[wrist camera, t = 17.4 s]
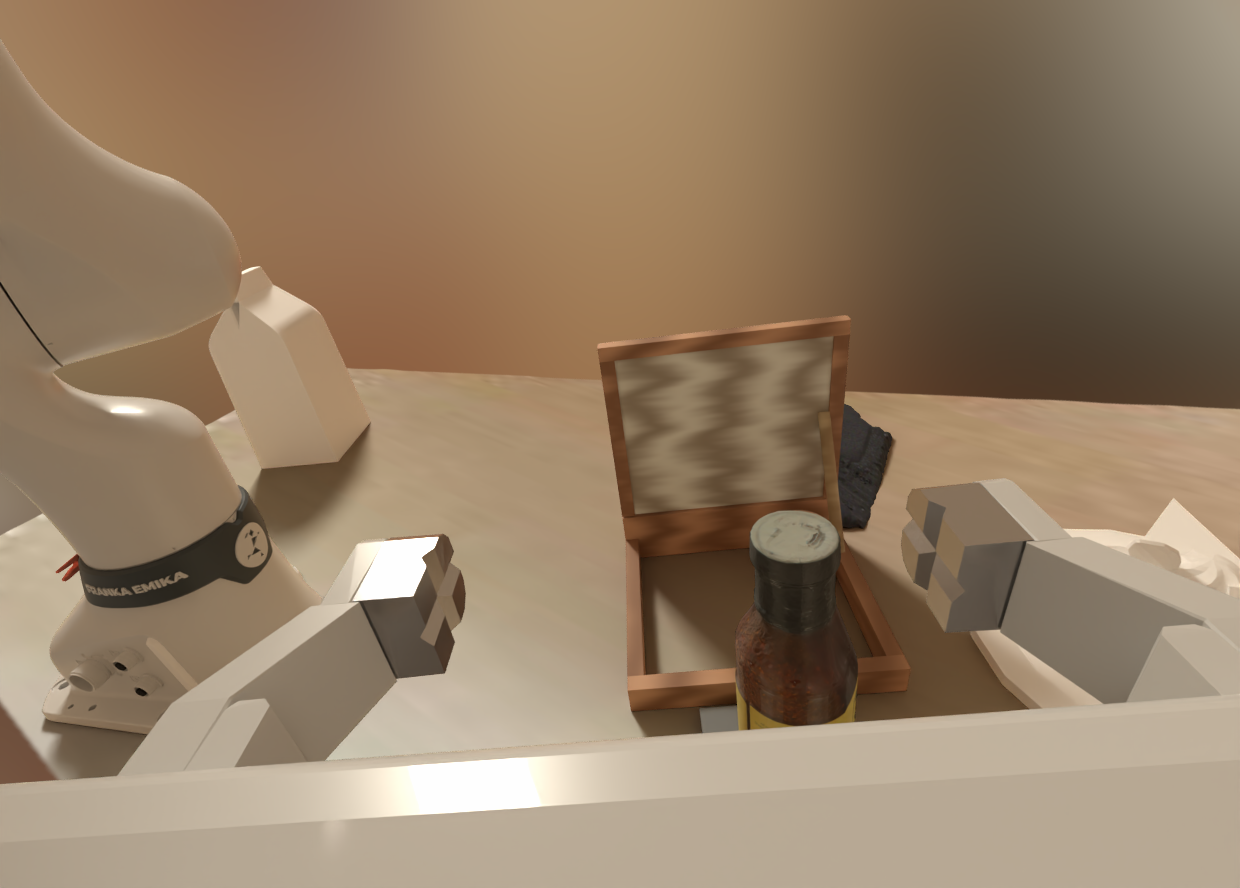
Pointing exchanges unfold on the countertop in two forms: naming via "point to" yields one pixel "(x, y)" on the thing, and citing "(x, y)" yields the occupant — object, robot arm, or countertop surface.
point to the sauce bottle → (794, 629)
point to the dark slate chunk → (860, 467)
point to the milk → (285, 377)
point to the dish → (1166, 545)
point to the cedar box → (731, 470)
